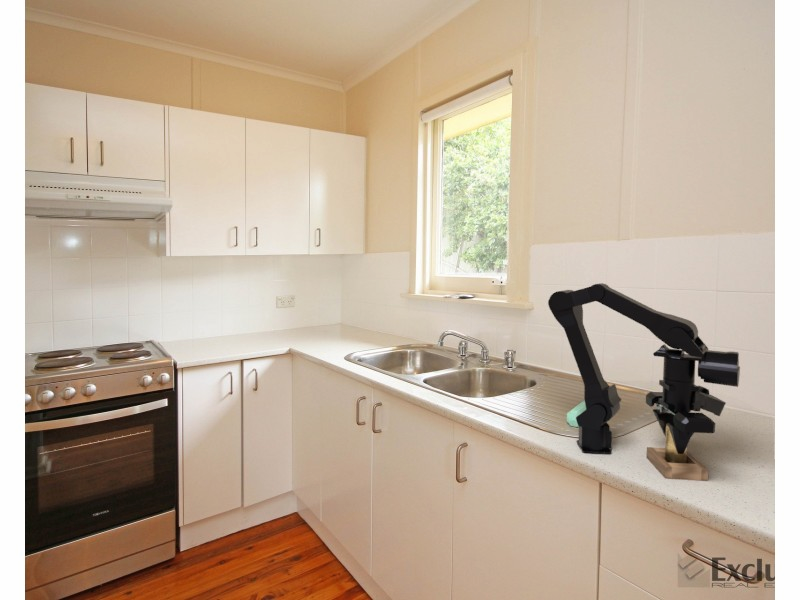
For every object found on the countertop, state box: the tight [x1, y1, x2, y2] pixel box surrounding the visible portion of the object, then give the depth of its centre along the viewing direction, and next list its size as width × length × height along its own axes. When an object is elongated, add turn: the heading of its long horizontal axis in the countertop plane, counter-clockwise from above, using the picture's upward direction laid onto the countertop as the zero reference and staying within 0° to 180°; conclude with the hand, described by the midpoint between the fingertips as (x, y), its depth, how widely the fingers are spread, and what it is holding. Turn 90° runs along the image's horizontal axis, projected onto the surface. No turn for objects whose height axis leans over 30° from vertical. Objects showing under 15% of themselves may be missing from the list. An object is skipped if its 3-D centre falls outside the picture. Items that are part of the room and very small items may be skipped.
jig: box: [646, 446, 709, 482], centre depth 97 cm, size 8×10×2 cm
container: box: [566, 400, 586, 428], centre depth 131 cm, size 6×6×25 cm
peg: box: [664, 423, 688, 463], centre depth 97 cm, size 4×4×8 cm
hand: (675, 449), depth 97 cm, fingers closed on peg, 4 cm apart
